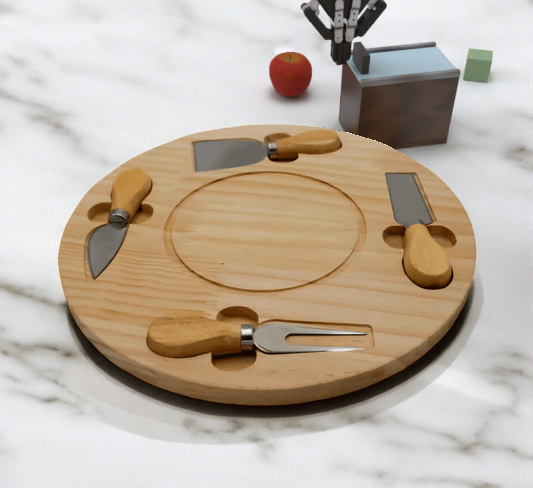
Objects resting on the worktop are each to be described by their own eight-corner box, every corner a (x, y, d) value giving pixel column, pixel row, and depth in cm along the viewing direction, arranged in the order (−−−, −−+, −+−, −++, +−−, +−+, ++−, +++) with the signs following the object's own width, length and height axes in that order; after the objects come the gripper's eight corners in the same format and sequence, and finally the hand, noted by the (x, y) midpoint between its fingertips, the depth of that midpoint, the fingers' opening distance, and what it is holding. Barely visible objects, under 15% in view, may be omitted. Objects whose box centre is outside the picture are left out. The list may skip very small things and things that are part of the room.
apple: (301, 107, 117) (302, 67, 112) (262, 98, 120) (261, 59, 115) (317, 88, 123) (319, 48, 117) (279, 80, 125) (279, 41, 120)
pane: (436, 49, 107) (439, 28, 105) (457, 72, 101) (461, 51, 98) (344, 58, 105) (346, 38, 103) (359, 83, 99) (361, 61, 96)
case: (423, 110, 116) (434, 41, 107) (446, 143, 108) (460, 70, 99) (338, 120, 114) (343, 50, 105) (355, 154, 106) (362, 81, 97)
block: (464, 69, 127) (468, 48, 124) (487, 72, 126) (492, 50, 123) (463, 79, 124) (467, 58, 121) (487, 82, 123) (492, 60, 120)
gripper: (306, -43, 85) (304, 78, 97) (403, -51, 87) (389, 69, 99) (294, -61, 91) (293, 56, 102) (385, -68, 93) (373, 48, 104)
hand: (340, 62), depth 100 cm, fingers closed
